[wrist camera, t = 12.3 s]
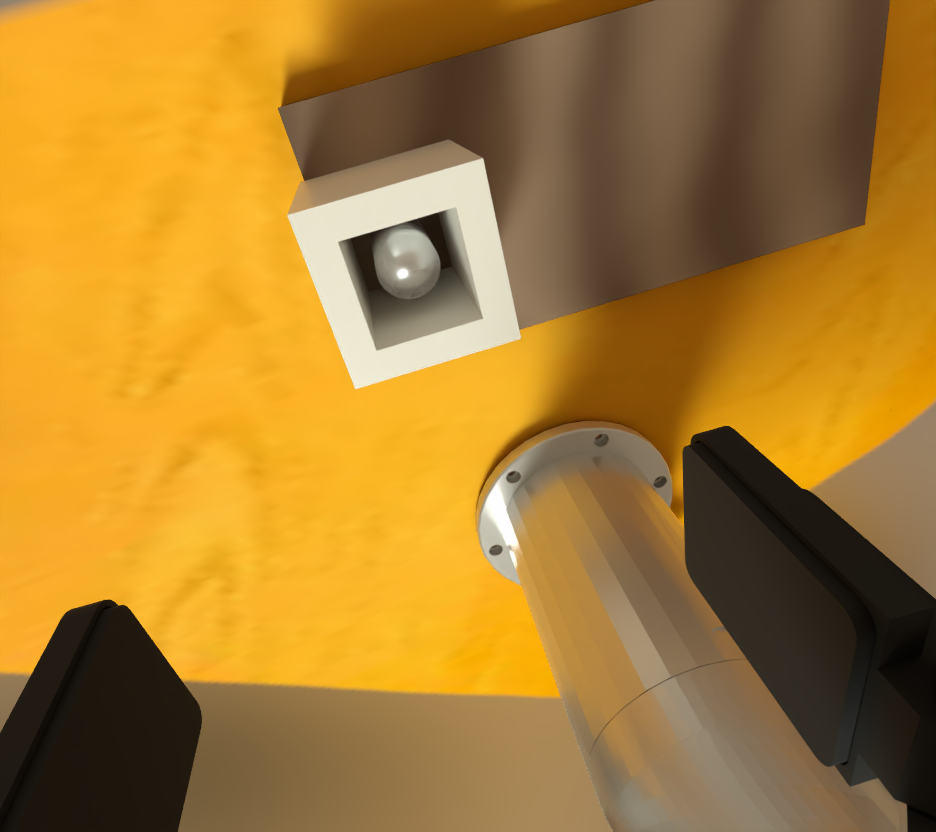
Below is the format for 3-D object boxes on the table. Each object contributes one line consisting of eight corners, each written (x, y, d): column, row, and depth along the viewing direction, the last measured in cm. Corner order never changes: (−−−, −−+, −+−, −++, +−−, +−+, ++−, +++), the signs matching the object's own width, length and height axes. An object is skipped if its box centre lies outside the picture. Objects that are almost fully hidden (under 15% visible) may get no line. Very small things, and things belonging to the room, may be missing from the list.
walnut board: (869, -61, 25) (897, -69, 24) (843, 218, 32) (864, 224, 30) (281, 106, 24) (277, 107, 23) (373, 361, 31) (374, 373, 29)
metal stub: (435, 232, 26) (453, 261, 22) (403, 274, 27) (414, 310, 23) (391, 197, 25) (401, 221, 21) (359, 242, 26) (362, 274, 22)
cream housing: (448, 139, 25) (483, 158, 19) (482, 283, 28) (521, 338, 22) (300, 182, 24) (287, 214, 18) (352, 322, 28) (355, 389, 22)
